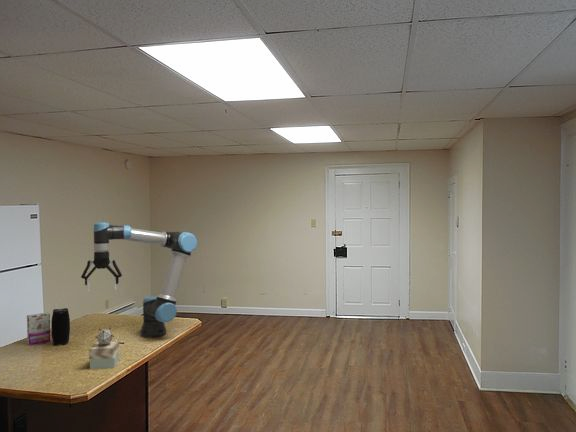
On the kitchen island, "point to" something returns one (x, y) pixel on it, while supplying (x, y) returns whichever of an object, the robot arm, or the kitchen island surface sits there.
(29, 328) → the candy bar box
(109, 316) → the kitchen island surface
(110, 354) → the upper block
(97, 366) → the lower block
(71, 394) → the kitchen island surface
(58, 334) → the portable speaker
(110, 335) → the game die
